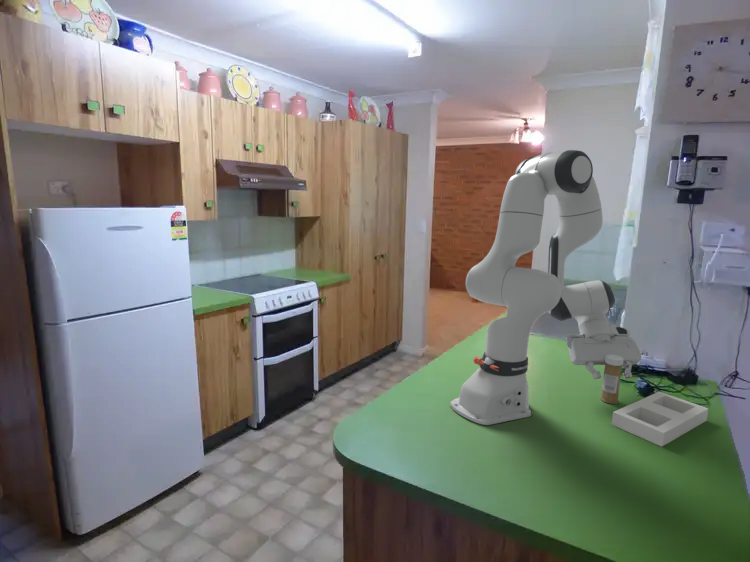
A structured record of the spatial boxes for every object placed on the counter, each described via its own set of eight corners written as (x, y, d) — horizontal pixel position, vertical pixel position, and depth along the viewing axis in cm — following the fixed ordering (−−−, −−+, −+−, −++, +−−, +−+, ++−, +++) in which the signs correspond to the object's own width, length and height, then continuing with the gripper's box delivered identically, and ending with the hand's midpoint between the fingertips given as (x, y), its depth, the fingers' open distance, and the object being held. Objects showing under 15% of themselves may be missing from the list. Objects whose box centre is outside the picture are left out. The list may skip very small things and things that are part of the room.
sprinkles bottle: (621, 402, 126) (626, 357, 123) (612, 405, 123) (618, 360, 121) (605, 396, 129) (610, 352, 127) (596, 399, 127) (602, 355, 124)
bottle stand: (661, 446, 103) (663, 433, 102) (611, 424, 113) (613, 411, 112) (706, 420, 116) (708, 408, 115) (657, 402, 125) (659, 391, 125)
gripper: (568, 329, 129) (583, 374, 121) (634, 329, 130) (653, 373, 123) (559, 339, 134) (573, 382, 126) (623, 339, 136) (640, 381, 128)
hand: (613, 378), depth 124 cm, fingers open, 8 cm apart
